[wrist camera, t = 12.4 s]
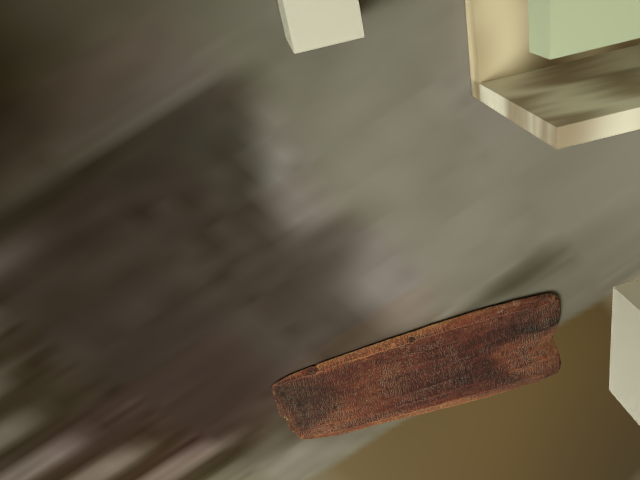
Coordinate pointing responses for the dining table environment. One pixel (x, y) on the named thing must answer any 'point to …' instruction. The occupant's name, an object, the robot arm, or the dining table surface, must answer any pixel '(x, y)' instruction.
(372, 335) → the dining table surface
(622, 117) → the shelf stand
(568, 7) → the shelf board
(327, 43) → the riser
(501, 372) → the wooden tablet
